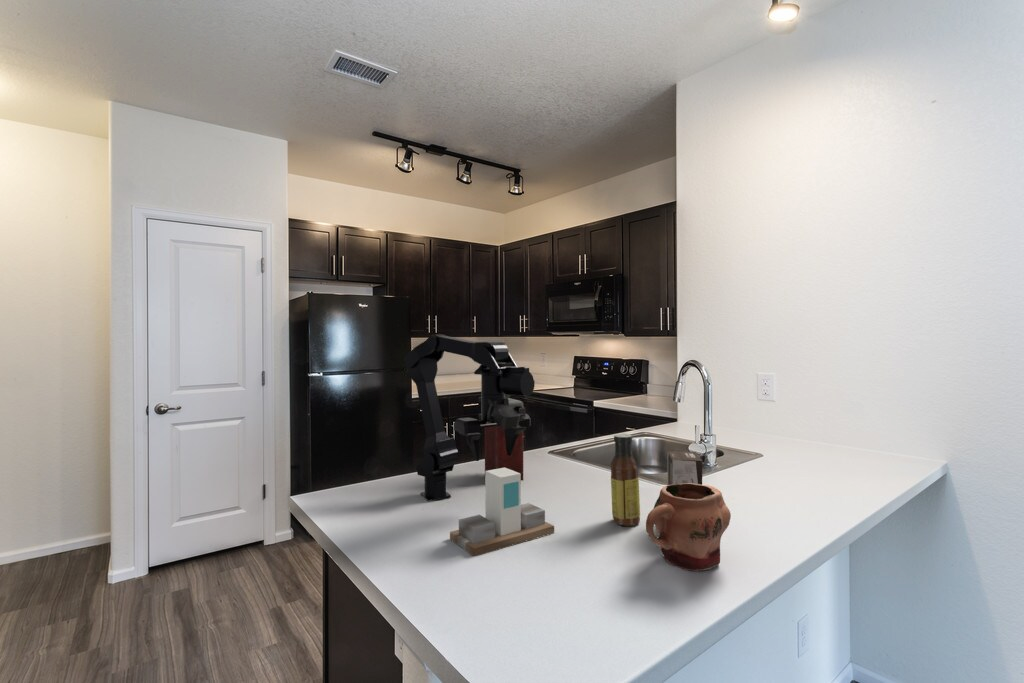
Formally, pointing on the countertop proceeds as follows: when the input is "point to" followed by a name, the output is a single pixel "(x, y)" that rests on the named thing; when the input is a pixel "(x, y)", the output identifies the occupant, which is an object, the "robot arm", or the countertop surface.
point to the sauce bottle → (624, 483)
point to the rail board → (482, 538)
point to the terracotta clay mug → (689, 525)
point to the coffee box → (684, 468)
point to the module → (503, 500)
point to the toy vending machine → (503, 447)
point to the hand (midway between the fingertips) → (493, 458)
